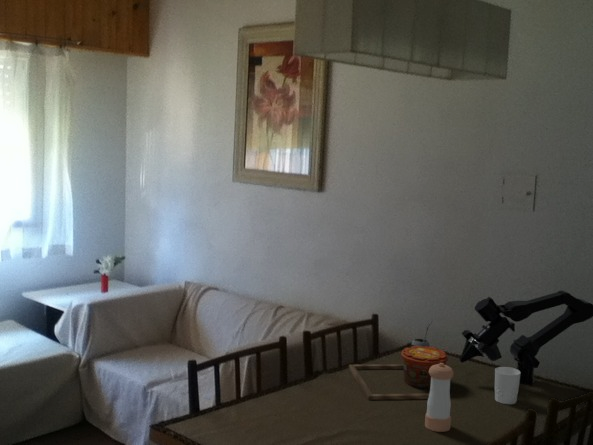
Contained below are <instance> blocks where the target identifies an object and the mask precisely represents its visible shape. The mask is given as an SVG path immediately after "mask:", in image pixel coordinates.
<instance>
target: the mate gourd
mask: <svg viewBox="0 0 593 445" xmlns="http://www.w3.org/2000/svg"><path fill="white" fill-rule="evenodd" d="M432 322H433V320H430V321H429V323H428V324H427V325H426V327H425V329H426V330H425V333H424V337H423V338H415V339H413V340H412V341H411V345H410V348H411V347H412V346H422V347H426V346H427V347H431V346H430V343H429V341H428V340H427V339H426V338H427V335H428V331H429V328H430V325H432V324H431V323H432Z"/></svg>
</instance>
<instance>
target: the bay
mask: <svg viewBox="0 0 593 445" xmlns="http://www.w3.org/2000/svg"><path fill="white" fill-rule="evenodd" d="M348 369H349V370H350V372H351V374H352V375H353V377H354V379H355V380H356V382H357V384H358V385H359V387H360V389H361V390H362V392H363V394H364V396H365V398H367V400H368V401H371V400H375V401H377V400H378V401H380V400H381V401H382V400H387V401H388V400H428V398H429V394H430V392H428V393H378V394H377V393H372V392H371V390H370V389H369V386H368V385H367V384H366V381H365V380H364V379H363V377H362V376H361V375H360V373H359V371H358V370H404V369H403V363H399V364H398V363H397V364H395V363H393V364H391V363H390V364H389V363H388V364H386V363H385V364H381V363H380V364H375V363H374V364H348Z"/></svg>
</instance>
